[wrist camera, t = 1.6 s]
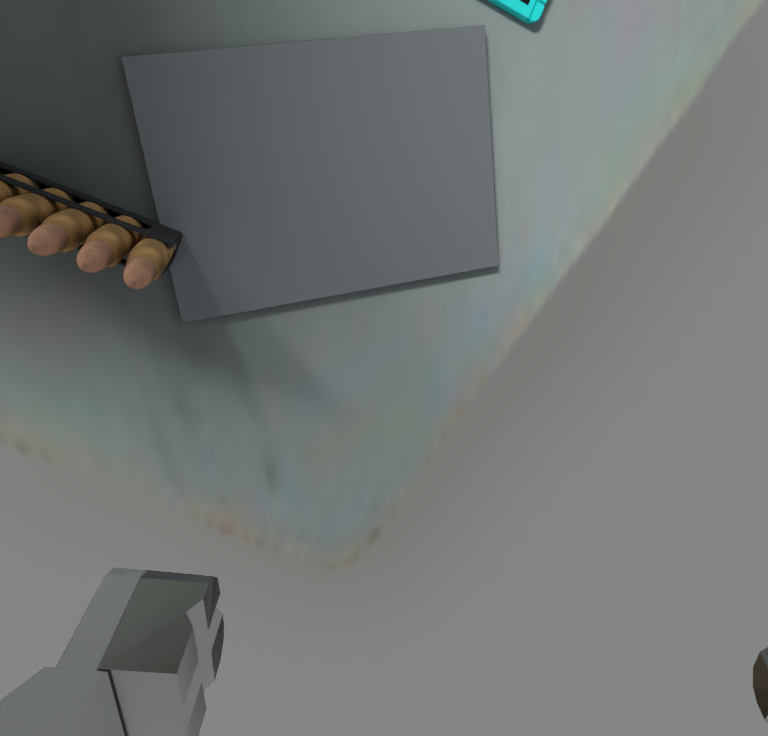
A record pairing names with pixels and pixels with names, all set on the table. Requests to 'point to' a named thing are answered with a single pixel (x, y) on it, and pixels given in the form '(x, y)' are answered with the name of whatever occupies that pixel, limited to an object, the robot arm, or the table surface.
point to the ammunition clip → (83, 228)
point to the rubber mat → (318, 165)
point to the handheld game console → (522, 8)
